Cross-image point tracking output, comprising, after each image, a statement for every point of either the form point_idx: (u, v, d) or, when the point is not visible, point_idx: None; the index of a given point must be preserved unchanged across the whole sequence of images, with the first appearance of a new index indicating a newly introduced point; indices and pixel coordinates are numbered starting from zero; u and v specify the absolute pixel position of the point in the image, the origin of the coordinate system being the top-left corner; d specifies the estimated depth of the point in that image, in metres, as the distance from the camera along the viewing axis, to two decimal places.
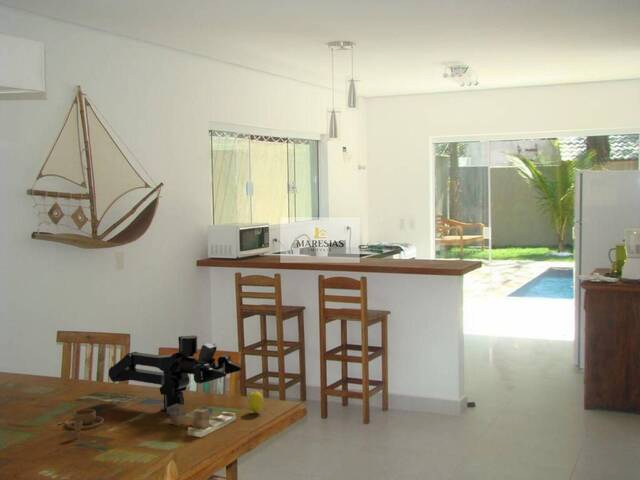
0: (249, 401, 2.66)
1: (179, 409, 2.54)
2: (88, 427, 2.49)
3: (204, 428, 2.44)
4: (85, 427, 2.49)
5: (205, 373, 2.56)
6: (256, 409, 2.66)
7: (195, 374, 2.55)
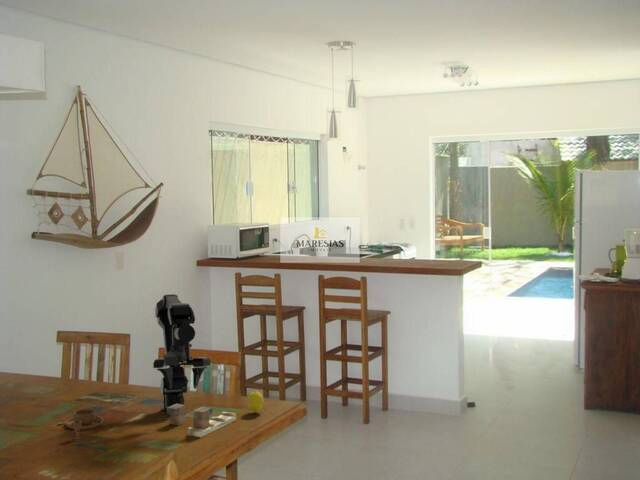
0: (249, 401, 2.66)
1: (179, 409, 2.54)
2: (88, 427, 2.49)
3: (204, 428, 2.44)
4: (85, 427, 2.48)
5: None
6: (256, 409, 2.66)
7: None
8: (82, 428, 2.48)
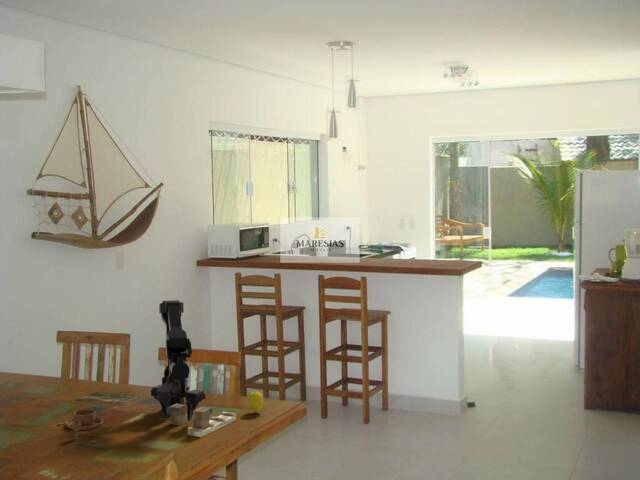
0: (249, 401, 2.66)
1: (179, 409, 2.54)
2: (87, 428, 2.48)
3: (204, 428, 2.44)
4: (84, 428, 2.48)
5: None
6: (256, 409, 2.66)
7: None
8: (82, 429, 2.48)
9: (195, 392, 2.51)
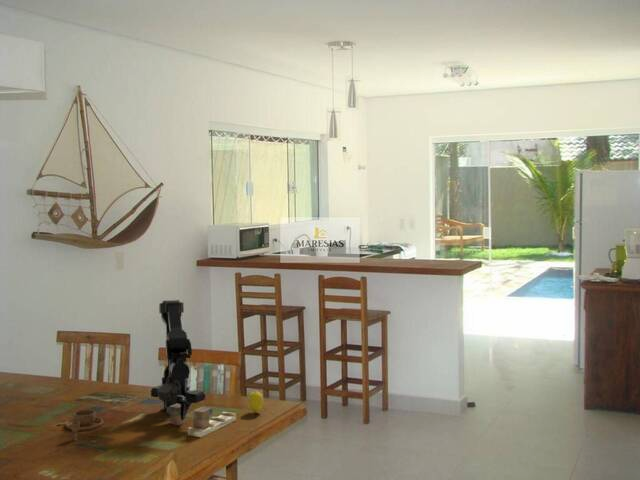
0: (249, 401, 2.66)
1: (179, 408, 2.54)
2: (87, 428, 2.48)
3: (204, 428, 2.44)
4: (84, 428, 2.48)
5: None
6: (256, 409, 2.66)
7: None
8: (81, 429, 2.48)
9: (195, 392, 2.51)
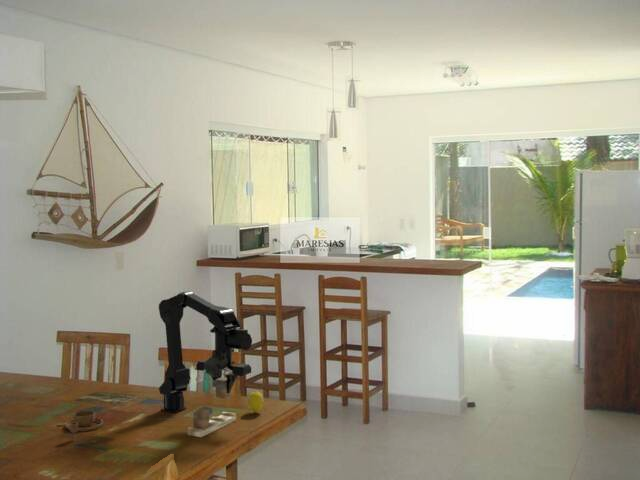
0: (249, 401, 2.66)
1: (225, 382, 2.54)
2: (86, 429, 2.47)
3: (204, 428, 2.44)
4: (83, 429, 2.47)
5: None
6: (256, 409, 2.66)
7: None
8: (80, 430, 2.47)
9: (241, 366, 2.52)
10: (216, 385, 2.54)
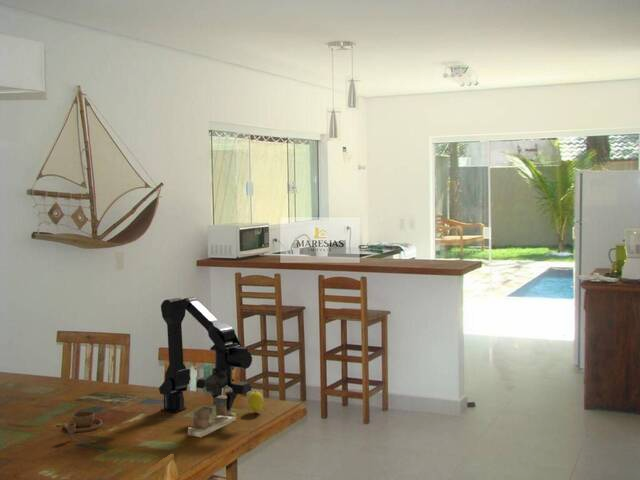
0: (249, 401, 2.66)
1: (225, 400, 2.55)
2: (85, 430, 2.47)
3: (204, 428, 2.44)
4: (82, 430, 2.46)
5: None
6: (256, 409, 2.66)
7: None
8: (79, 430, 2.46)
9: (242, 384, 2.53)
10: (216, 403, 2.54)
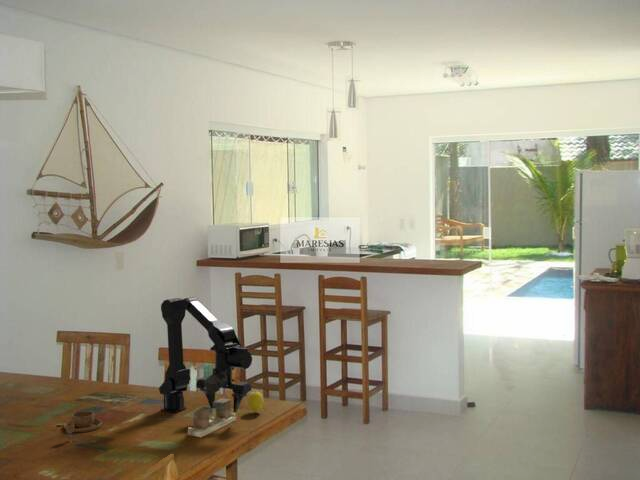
0: (249, 401, 2.66)
1: (225, 403, 2.55)
2: (84, 430, 2.46)
3: (204, 428, 2.44)
4: (81, 430, 2.46)
5: None
6: (256, 409, 2.66)
7: None
8: (78, 430, 2.46)
9: (242, 384, 2.53)
10: (216, 407, 2.54)
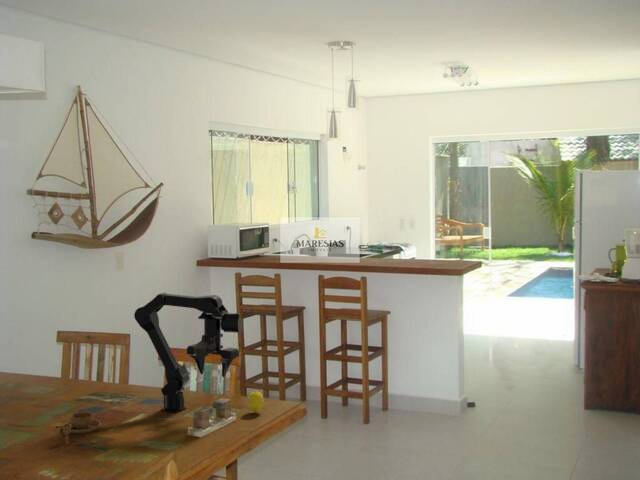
0: (249, 401, 2.66)
1: (225, 403, 2.55)
2: (82, 431, 2.45)
3: (204, 428, 2.44)
4: (79, 431, 2.45)
5: None
6: (256, 409, 2.66)
7: None
8: (76, 432, 2.45)
9: (229, 349, 2.64)
10: (216, 407, 2.54)
